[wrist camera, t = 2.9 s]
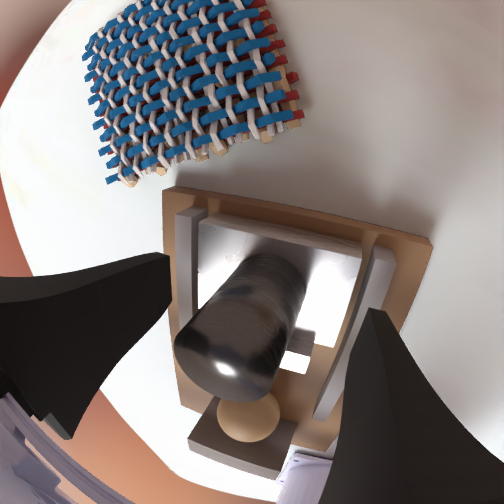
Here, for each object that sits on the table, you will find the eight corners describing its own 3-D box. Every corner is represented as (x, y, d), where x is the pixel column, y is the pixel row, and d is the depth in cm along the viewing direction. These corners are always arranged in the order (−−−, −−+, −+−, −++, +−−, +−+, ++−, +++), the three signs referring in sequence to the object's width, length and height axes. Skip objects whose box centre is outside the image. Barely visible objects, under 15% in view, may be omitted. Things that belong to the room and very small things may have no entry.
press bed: (327, 441, 17) (312, 495, 13) (186, 396, 21) (156, 439, 16) (427, 238, 10) (464, 301, 6) (174, 186, 13) (98, 214, 9)
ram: (331, 341, 12) (305, 449, 7) (213, 308, 14) (145, 388, 9) (361, 243, 10) (360, 345, 5) (216, 211, 12) (118, 271, 7)
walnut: (281, 414, 16) (264, 458, 13) (230, 397, 17) (207, 438, 14) (292, 382, 14) (273, 433, 11) (232, 364, 15) (205, 409, 12)
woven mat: (316, 133, 11) (310, 131, 9) (132, 188, 15) (107, 197, 13) (253, -42, 8) (237, -61, 6) (101, 43, 12) (77, 39, 10)
